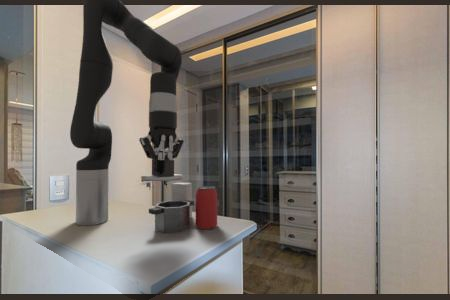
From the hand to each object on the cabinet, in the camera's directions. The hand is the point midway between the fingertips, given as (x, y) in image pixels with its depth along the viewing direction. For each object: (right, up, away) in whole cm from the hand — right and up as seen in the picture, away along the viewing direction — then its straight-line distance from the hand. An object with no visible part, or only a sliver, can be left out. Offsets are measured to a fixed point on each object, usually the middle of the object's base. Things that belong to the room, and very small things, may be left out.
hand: (162, 173), depth 63 cm
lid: (0, -1, 0) cm, 1 cm away
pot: (+2, -17, +6) cm, 18 cm away
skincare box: (+2, -17, +17) cm, 24 cm away
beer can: (+12, -17, +7) cm, 22 cm away
